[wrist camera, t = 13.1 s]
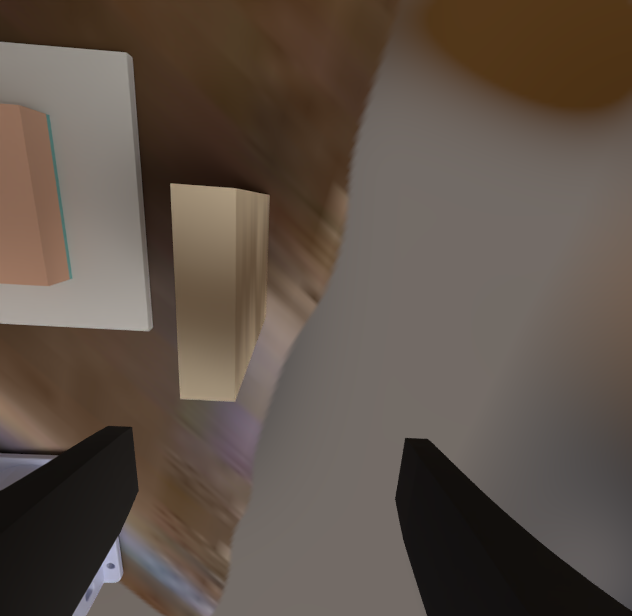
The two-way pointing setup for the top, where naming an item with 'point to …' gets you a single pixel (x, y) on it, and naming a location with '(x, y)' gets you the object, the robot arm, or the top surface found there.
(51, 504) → the robot arm
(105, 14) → the top surface
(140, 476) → the top surface
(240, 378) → the beige upright block
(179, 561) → the top surface
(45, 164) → the tile
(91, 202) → the mat
